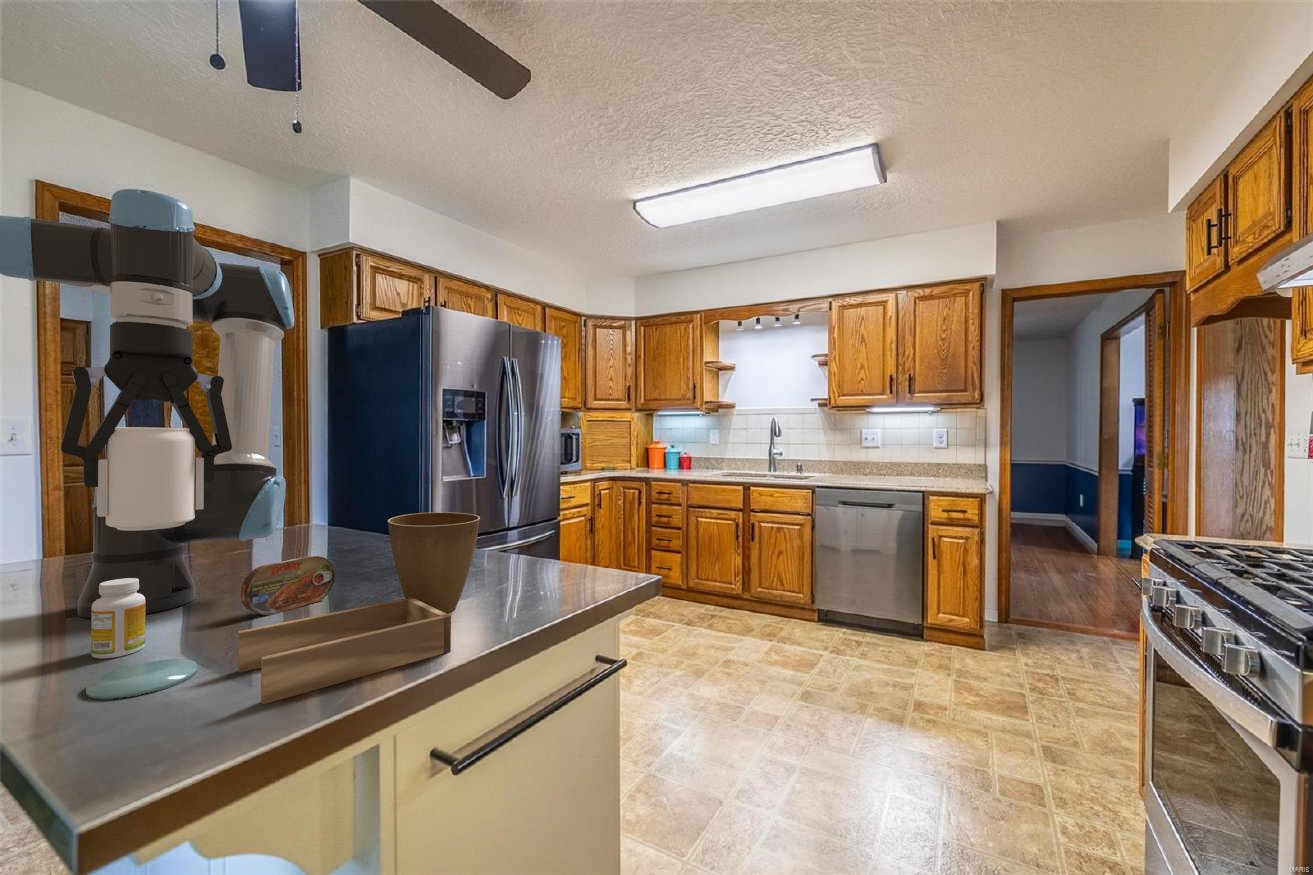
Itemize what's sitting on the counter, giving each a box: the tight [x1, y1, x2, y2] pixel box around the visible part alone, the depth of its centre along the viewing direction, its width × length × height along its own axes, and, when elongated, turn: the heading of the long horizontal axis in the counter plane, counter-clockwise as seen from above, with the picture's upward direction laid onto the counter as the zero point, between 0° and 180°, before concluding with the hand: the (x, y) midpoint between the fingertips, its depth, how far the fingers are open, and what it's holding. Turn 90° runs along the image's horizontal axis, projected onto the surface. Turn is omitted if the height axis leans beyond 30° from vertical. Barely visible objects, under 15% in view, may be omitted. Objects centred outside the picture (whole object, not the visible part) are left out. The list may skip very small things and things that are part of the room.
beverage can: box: [105, 426, 196, 531], centre depth 69 cm, size 8×8×12 cm
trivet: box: [85, 658, 198, 700], centre depth 69 cm, size 10×10×1 cm
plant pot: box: [387, 511, 481, 614], centre depth 98 cm, size 15×15×16 cm
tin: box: [240, 555, 336, 616], centre depth 98 cm, size 15×3×8 cm, turn 155°
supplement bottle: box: [90, 578, 146, 660], centre depth 78 cm, size 5×5×10 cm
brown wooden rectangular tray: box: [237, 597, 452, 705], centre depth 75 cm, size 13×22×5 cm, turn 137°
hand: (152, 511), depth 69 cm, fingers closed on beverage can, 8 cm apart
